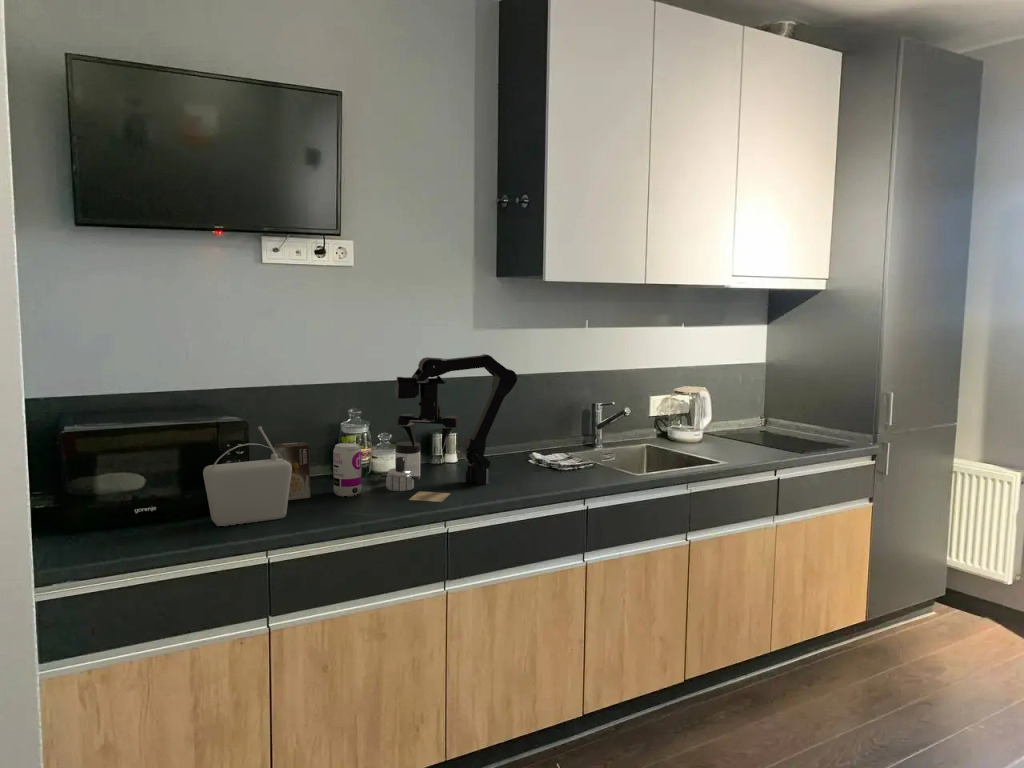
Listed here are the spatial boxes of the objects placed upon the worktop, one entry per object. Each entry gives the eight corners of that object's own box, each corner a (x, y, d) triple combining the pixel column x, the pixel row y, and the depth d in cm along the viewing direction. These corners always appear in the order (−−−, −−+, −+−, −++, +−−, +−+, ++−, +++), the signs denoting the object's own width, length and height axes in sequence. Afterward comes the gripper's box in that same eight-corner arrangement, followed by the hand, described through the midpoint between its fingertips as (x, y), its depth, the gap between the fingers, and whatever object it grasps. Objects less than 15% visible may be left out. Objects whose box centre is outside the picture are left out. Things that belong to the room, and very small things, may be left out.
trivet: (450, 495, 239) (450, 493, 239) (441, 504, 230) (441, 501, 229) (418, 493, 241) (418, 491, 241) (408, 502, 231) (408, 499, 231)
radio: (284, 510, 221) (283, 422, 218) (293, 517, 214) (292, 426, 211) (202, 521, 209) (199, 428, 206) (209, 529, 202) (206, 433, 199)
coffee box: (305, 493, 240) (305, 441, 238) (310, 498, 234) (310, 445, 232) (274, 496, 235) (273, 443, 233) (279, 501, 230) (278, 447, 228)
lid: (414, 472, 248) (414, 456, 247) (407, 477, 240) (407, 460, 240) (392, 471, 249) (392, 454, 248) (385, 476, 242) (385, 459, 241)
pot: (422, 488, 248) (422, 472, 248) (414, 494, 240) (414, 478, 239) (385, 485, 250) (385, 470, 250) (376, 492, 242) (376, 476, 242)
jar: (400, 483, 253) (400, 446, 252) (390, 478, 260) (390, 442, 259) (425, 480, 258) (425, 444, 257) (414, 475, 265) (414, 440, 264)
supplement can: (366, 491, 242) (366, 443, 241) (352, 498, 235) (352, 448, 233) (343, 489, 245) (342, 441, 243) (328, 495, 237) (328, 446, 236)
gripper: (464, 396, 251) (463, 444, 252) (408, 393, 254) (407, 441, 256) (455, 400, 240) (455, 451, 242) (396, 398, 243) (396, 448, 245)
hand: (428, 447), depth 246 cm, fingers open, 9 cm apart
